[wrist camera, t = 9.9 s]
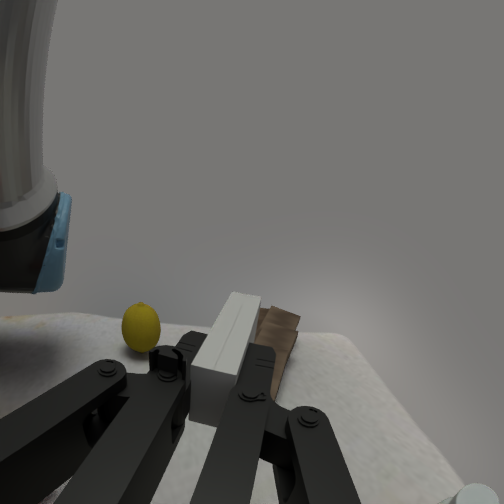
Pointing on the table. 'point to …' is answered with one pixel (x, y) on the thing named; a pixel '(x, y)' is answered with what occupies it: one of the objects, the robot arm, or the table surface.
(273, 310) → the domino
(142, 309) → the lemon
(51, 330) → the table surface
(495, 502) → the supplement bottle
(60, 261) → the robot arm
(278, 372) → the domino
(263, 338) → the domino
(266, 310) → the domino
